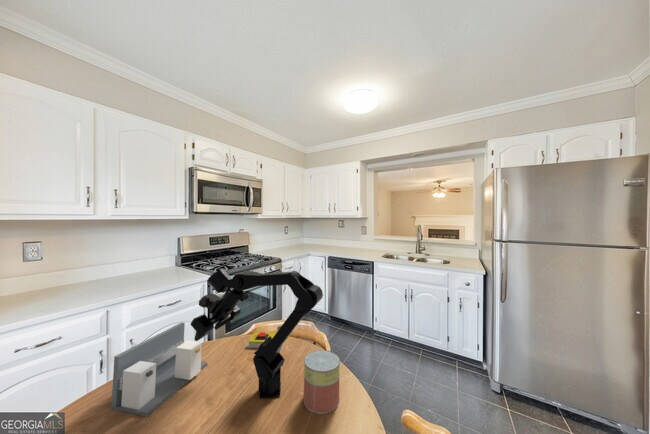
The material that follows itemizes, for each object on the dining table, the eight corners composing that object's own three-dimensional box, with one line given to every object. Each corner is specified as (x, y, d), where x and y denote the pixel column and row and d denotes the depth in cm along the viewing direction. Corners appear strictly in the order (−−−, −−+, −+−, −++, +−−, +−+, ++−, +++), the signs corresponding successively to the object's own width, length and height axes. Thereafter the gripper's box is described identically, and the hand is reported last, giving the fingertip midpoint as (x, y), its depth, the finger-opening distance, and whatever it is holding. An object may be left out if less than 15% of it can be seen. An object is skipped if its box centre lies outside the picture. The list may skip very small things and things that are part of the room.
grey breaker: (156, 397, 69) (158, 363, 70) (140, 410, 65) (142, 373, 65) (138, 393, 71) (140, 360, 71) (121, 406, 66) (123, 370, 66)
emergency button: (251, 329, 110) (282, 330, 110) (251, 338, 110) (282, 339, 110) (244, 338, 101) (278, 339, 101) (244, 348, 101) (278, 349, 100)
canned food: (335, 385, 78) (335, 349, 78) (343, 411, 67) (344, 369, 67) (302, 388, 76) (302, 351, 76) (305, 416, 65) (305, 372, 65)
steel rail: (183, 348, 89) (184, 340, 89) (121, 390, 66) (121, 379, 66) (181, 348, 89) (181, 340, 89) (118, 389, 66) (119, 379, 66)
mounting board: (207, 364, 88) (208, 325, 88) (147, 416, 63) (149, 361, 64) (179, 361, 90) (181, 322, 90) (111, 409, 66) (114, 356, 66)
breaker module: (202, 371, 82) (203, 342, 82) (192, 380, 77) (193, 349, 77) (186, 368, 83) (187, 340, 84) (174, 377, 78) (176, 347, 79)
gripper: (231, 280, 91) (211, 309, 93) (192, 293, 73) (168, 329, 75) (250, 299, 89) (229, 329, 90) (215, 317, 71) (189, 354, 72)
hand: (206, 334), depth 82 cm, fingers open, 9 cm apart
